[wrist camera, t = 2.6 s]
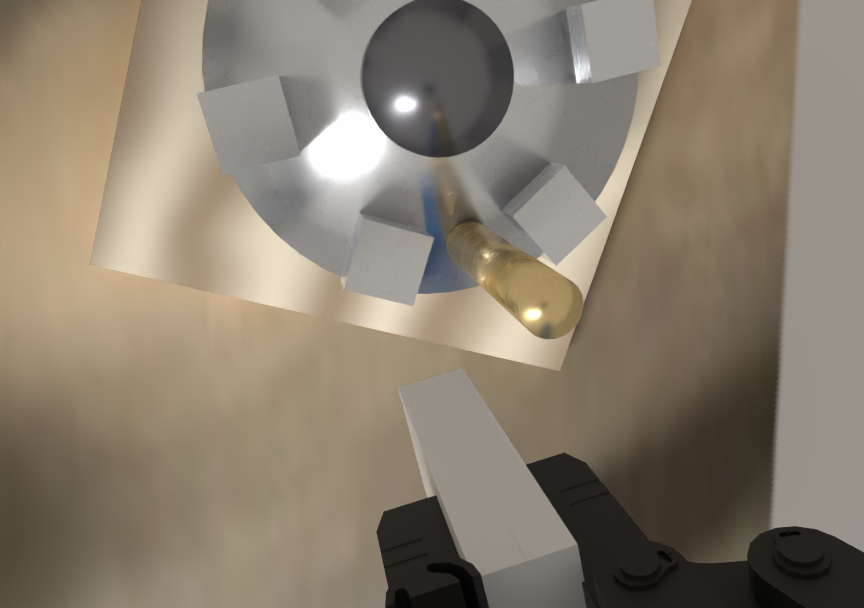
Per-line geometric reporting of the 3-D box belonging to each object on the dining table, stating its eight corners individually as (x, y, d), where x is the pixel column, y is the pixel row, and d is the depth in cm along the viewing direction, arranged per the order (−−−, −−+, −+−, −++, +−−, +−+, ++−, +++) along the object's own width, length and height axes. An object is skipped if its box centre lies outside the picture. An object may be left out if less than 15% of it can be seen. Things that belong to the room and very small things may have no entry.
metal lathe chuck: (150, -96, 28) (42, -262, 15) (567, -178, 31) (784, -382, 18) (279, 315, 34) (281, 452, 21) (621, 220, 36) (816, 290, 23)
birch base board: (97, 257, 33) (88, 266, 32) (210, -311, 28) (206, -337, 27) (549, 361, 40) (561, 373, 38) (707, -86, 35) (728, -95, 33)
